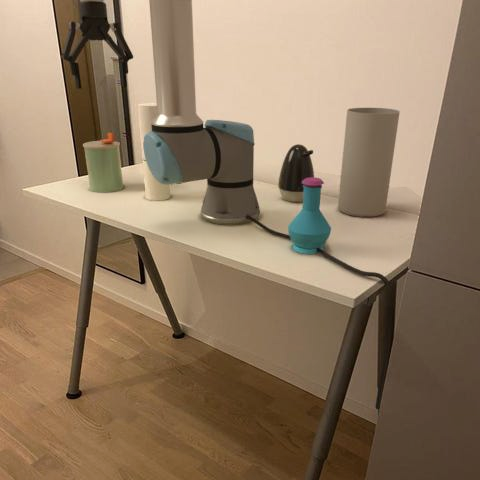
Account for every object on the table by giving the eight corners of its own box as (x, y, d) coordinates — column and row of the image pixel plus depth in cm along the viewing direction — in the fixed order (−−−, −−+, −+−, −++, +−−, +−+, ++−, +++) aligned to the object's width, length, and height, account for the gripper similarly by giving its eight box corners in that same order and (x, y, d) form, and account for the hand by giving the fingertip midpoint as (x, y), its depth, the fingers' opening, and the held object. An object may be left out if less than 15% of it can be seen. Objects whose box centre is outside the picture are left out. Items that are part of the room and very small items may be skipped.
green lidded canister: (129, 189, 155) (124, 144, 148) (95, 194, 150) (89, 147, 143) (117, 182, 163) (112, 139, 156) (84, 186, 158) (78, 142, 151)
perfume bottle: (325, 240, 115) (331, 174, 108) (332, 255, 107) (339, 184, 100) (284, 241, 115) (288, 174, 107) (289, 256, 107) (293, 185, 99)
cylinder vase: (365, 202, 143) (377, 106, 131) (395, 214, 133) (410, 112, 121) (328, 207, 138) (337, 109, 126) (356, 220, 128) (368, 114, 116)
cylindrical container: (168, 200, 144) (162, 105, 132) (143, 200, 144) (135, 105, 132) (172, 193, 150) (166, 102, 138) (148, 193, 150) (140, 102, 138)
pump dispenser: (296, 206, 138) (299, 149, 131) (270, 198, 145) (272, 143, 138) (321, 200, 144) (325, 144, 137) (295, 193, 151) (298, 139, 144)
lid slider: (115, 142, 150) (114, 134, 149) (104, 143, 148) (103, 135, 147) (110, 140, 153) (109, 132, 152) (100, 141, 151) (99, 133, 150)
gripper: (129, 3, 146) (136, 84, 156) (41, 0, 134) (55, 88, 144) (140, 2, 140) (146, 86, 151) (48, -2, 128) (62, 90, 139)
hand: (102, 87), depth 147 cm, fingers open, 13 cm apart
